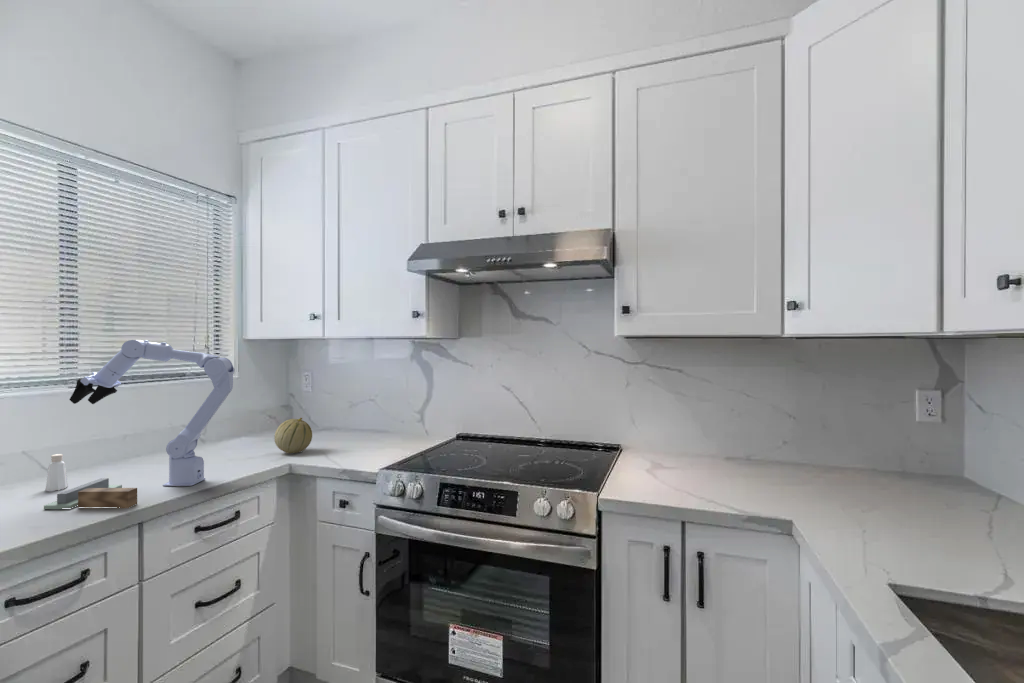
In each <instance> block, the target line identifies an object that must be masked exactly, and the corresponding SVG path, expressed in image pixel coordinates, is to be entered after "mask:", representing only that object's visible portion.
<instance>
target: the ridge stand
mask: <svg viewBox="0 0 1024 683" xmlns="http://www.w3.org/2000/svg"><path fill="white" fill-rule="evenodd" d="M109 481H110V479H109V478H105V477H104V478H103V477H102V478H99V479H95V480H93V481H90V482H87V483H84V484H81V485H79V486H78V485H77V486H76V487H73V488H70V489H68V490H64V491H62V492H59V493H58V492H57V493H56V501H53V502H50V503H47V504H45V505H43V510H44V509H62V508H72V507H75V506H77V505H78V492H79V491H81V490H84V489H87V488H123V485H122V484H110V482H109ZM77 507H78V506H77ZM75 508H76V507H75Z"/></svg>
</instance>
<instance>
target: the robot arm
mask: <svg viewBox="0 0 1024 683" xmlns="http://www.w3.org/2000/svg"><path fill="white" fill-rule="evenodd" d="M120 348H121V349H120V350H119V351H118V352H117V353H116V354H115V355H113V356H112V358H110V360H109V361H107V362H106V363H105V365H103V366H102V367H101V368H100V370H98V371H97V372H96V371H93V372H91V375H89V376H84V377H83V378H82V377H81V378H78V379H77V381H76V384H75V389H74V390H73V393H71V396H70V398H69V401H70V402H71V403H72V404H73V405H74V404H78V403H79V402H80V401H83V399H85V397H88V395H90V396H89V397H88V398H87V401H88V403H90V404H92V405H95V404H96V403H98V402H99V401H101V400H102V399H104V398H106V397H107V396H110V395H113V394H117V392H118V390H117V389H116V388H119V387H120V386H121V384H122V382H121V381H119V380H120V379H121V378H122V377H123V376H124V375H125V374H126V373H127V372H128V371H129V370H130V369H131V368H132V367H133V366H134V365H135V363H136V362H138V360H139V359H140V358H142V359H145V360H150V361H151V360H152V361H159V362H165V363H166V362H168V361H171V360H172V359H173V360H179V361H185V362H191V363H195V364H197V366H198V367H200V369H203V371H204V373H205V375H206V376H207V377H209V379H210V380H211V382H212V385H213V389H212V390H211V392H210V393H209V394H208V396H207V397H206V398H205V400H204V402H203V403H202V405H201V406H200V407H199V408H198V410H197V411H196V413H195V414H194V415H193V417H192V418H191V419H190V421H189V422H188V423H187V424H186V426H185V427H184V428H183V429H182V430H181V431H180V432H179V433H178V434H177V436H176V437H175V438H174V439H172V440H170V441H169V442H168V443H167V445H166V447H165V450H166V451H165V452H166V454H167V455H168V457H169V458H168V482H166V483H163V484H162V486H163V487H185V486H187V487H189V486H194V485H196V484H199V483H200V482H202V481H205V480H206V478H205V460H204V458H203V457H202V456H198V455H196V453H195V449H196V448H197V446H198V441H199V439H200V438H201V436H202V435H201V433H202V432H203V431H204V429H205V428H206V426H208V424H209V422H210V421H211V419H213V417H214V415H216V413H217V411H218V410H219V409H220V407H221V406H222V404H223V403H224V401H226V399H227V397H228V396H229V395H230V393H231V392H232V390H233V388H234V373H235V367H234V365H233V363H232V361H231V360H230V359H229V358H227V357H220V356H219V355H215V354H211V353H206V352H200V351H199V352H197V351H191V350H190V351H188V350H180V349H175V348H174V347H173V346H172V345H170V344H167V342H166V341H165V342H164V341H161V342H160V343H159V342H152V341H150V340H148V339H144V340H143V339H142V340H141V339H128V340H126V341H125V342H124V343H122V345H121V347H120ZM94 385H96V386H97V387H96V388H94Z"/></svg>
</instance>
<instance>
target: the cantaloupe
mask: <svg viewBox="0 0 1024 683" xmlns="http://www.w3.org/2000/svg"><path fill="white" fill-rule="evenodd" d="M273 436H274V444H275V446H276V447H277V448H278V449H279V450H280V451H282V452H284V453H287V454H291V453H293V454H300V453H302V452H303V451H305V450H306V449H307V448H308V447H309V446H310V444H311V442H312V440H313V430H312V427H311V426H310V424H309V422H306V421H304V420H303V417H300V418H289V419H287V420H285V421H283V422H282V423H280V425H278V426H277V428H276V430H275V432H274V435H273ZM301 451H302V452H301Z"/></svg>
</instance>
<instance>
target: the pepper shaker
mask: <svg viewBox="0 0 1024 683" xmlns="http://www.w3.org/2000/svg"><path fill="white" fill-rule="evenodd" d="M63 456H64V455H63V453H56V454H52V455H50V457H51V458H50V459H51V461H50V463H48V468H47V476H46V482H45V488H44V491H46V492H55V491H54V490H58V491H61V490H60V489H62V490H65V489H64V488H66V487H67V488H68V487H69V483H68V476H67V469H66V462H65V461H64V460H63V458H64V457H63ZM67 488H66V489H67Z"/></svg>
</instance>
